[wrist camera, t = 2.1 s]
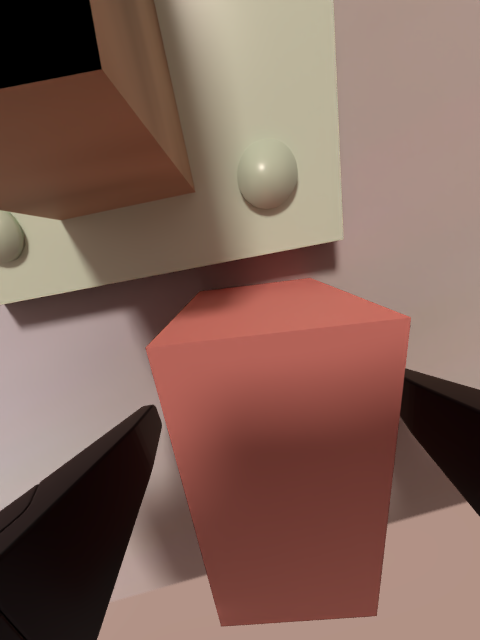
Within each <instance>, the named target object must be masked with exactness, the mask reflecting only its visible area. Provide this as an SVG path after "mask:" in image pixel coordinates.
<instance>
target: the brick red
mask: <svg viewBox="0 0 480 640" xmlns="http://www.w3.org/2000/svg"><path fill="white" fill-rule="evenodd" d="M410 322H411V317H408V316H406V315H403V314H401V313H398V312H395V311H393V310H390V309H388V308H385V307H383V306H380V305H378V304H375V303H373V302H370V301H368V300H365V299H362V298H360V297H357V296H355V295H352V294H350V293H347V292H345V291H342V290H340V289H337V288H334V287H332V286H329V285H327V284H324V283H322V282H319V281H317V280H314V279H312V278H306V279H298V280H290V281H282V282H273V283H265V284H257V285H249V286H240V287H232V288H224V289H215V290H207V291H200V292H199V293H198V294H197V295H196V296H195V297H194V298H193V299H192V300H191V301H190V302H189V303H188V304H187V305H186V306H185V307H184V308H183V309H182V310H181V311H180V313H179V314H178V315H177V316H176V317H175V318H174V319H173V320H172V321H171V322H170V323H169V324H168V325H167V326H166V327H165V328H164V329H163V330H162V331H161V332H160V333H159V334H158V335H157V336H156V337H155V338H154V339H153V340H152V341H151V343H150V344H149V345H148V346H147V347H146V351H147V355H148V359H149V362H150V366H151V370H152V373H153V377H154V381H155V384H156V388H157V392H158V395H159V399H160V403H161V407H162V410H163V414H164V418H165V421H166V425H167V429H168V432H169V436H170V440H171V443H172V447H173V451H174V454H175V458H176V462H177V465H178V469H179V473H180V476H181V480H182V484H183V487H184V491H185V495H186V499H187V502H188V506H189V510H190V513H191V517H192V521H193V524H194V528H195V532H196V535H197V539H198V543H199V546H200V550H201V554H202V557H203V561H204V565H205V568H206V572H207V576H208V579H209V583H210V587H211V590H212V594H213V598H214V602H215V605H216V609H217V613H218V616H219V620H220V623H221V626H236V625H251V624H265V623H280V622H294V621H310V620H324V619H339V618H354V617H369V616H377V609H378V600H379V591H380V583H381V574H382V564H383V557H384V548H385V539H386V530H387V522H388V513H389V505H390V496H391V487H392V478H393V470H394V461H395V452H396V444H397V435H398V426H399V418H400V409H401V400H402V391H403V383H404V374H405V365H406V357H407V348H408V339H409V331H410Z"/></svg>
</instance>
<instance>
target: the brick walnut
mask: <svg viewBox="0 0 480 640" xmlns="http://www.w3.org/2000/svg"><path fill="white" fill-rule="evenodd" d="M90 5H91V11H92V16H93V22H94V28H95V33H96V39H97V45H98V50H99V56H100V62H101V67H102V69H101V70H95V71H90V72H85V73H80V74H75V75H70V76H64V77H59V78H54V79H49V80H44V81H38V82H33V83H28V84H23V85H18V86H13V87H8V84H7V82H6V79H5V77H4V74H3V72H2V69H1V66H0V210H2V211H8V212H14V213H20V214H26V215H32V216H38V217H43V218H49V219H55V220H65V219H70V218H74V217H79V216H84V215H89V214H93V213H98V212H103V211H108V210H112V209H117V208H122V207H127V206H132V205H136V204H141V203H146V202H151V201H155V200H160V199H165V198H170V197H174V196H179V195H184V194H189V193H193V192H195V188H194V183H193V178H192V174H191V169H190V165H189V160H188V155H187V151H186V146H185V142H184V137H183V132H182V128H181V123H180V118H179V114H178V109H177V105H176V100H175V95H174V91H173V86H172V82H171V77H170V72H169V68H168V63H167V58H166V54H165V49H164V45H163V40H162V35H161V31H160V26H159V22H158V17H157V12H156V8H155V3H154V0H90Z"/></svg>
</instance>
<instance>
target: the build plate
mask: <svg viewBox="0 0 480 640" xmlns="http://www.w3.org/2000/svg"><path fill="white" fill-rule="evenodd" d="M154 3H155V8H156V12H157V17H158V22H159V26H160V31H161V35H162V40H163V45H164V49H165V54H166V58H167V63H168V68H169V72H170V77H171V82H172V86H173V91H174V95H175V100H176V105H177V109H178V114H179V118H180V123H181V128H182V132H183V137H184V142H185V146H186V151H187V155H188V160H189V165H190V169H191V174H192V178H193V183H194V188H195V192H193V193H189V194H184V195H179V196H174V197H170V198H165V199H160V200H155V201H151V202H146V203H141V204H136V205H132V206H127V207H122V208H117V209H112V210H108V211H103V212H98V213H93V214H89V215H84V216H79V217H74V218H70V219H65V220H55V219H49V218H43V217H38V216H32V215H26V214H20V213H14V212H8V211H2V210H0V305H3V304H8V303H13V302H18V301H24V300H29V299H34V298H39V297H45V296H50V295H55V294H60V293H66V292H71V291H76V290H81V289H86V288H92V287H97V286H102V285H107V284H113V283H118V282H123V281H128V280H134V279H139V278H144V277H149V276H155V275H160V274H165V273H170V272H176V271H181V270H186V269H191V268H196V267H202V266H207V265H212V264H217V263H223V262H228V261H233V260H238V259H244V258H249V257H254V256H259V255H265V254H270V253H275V252H280V251H285V250H291V249H296V248H301V247H306V246H312V245H317V244H322V243H327V242H333V241H338V240H343V216H342V192H341V169H340V146H339V122H338V99H337V76H336V52H335V29H334V6H333V0H154ZM0 66H1V69H2V72H3V74H4V77H5V79H6V82H7V84H8V87H13V86H18V85H23V84H28V83H33V82H38V81H44V80H49V79H54V78H59V77H64V76H70V75H75V74H80V73H85V72H90V71H95V70H101V69H102V67H101V62H100V56H99V50H98V45H97V39H96V33H95V28H94V22H93V16H92V11H91V5H90V0H0Z"/></svg>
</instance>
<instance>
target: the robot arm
mask: <svg viewBox="0 0 480 640" xmlns="http://www.w3.org/2000/svg"><path fill="white" fill-rule="evenodd" d="M400 417H401V418H402V420H403V421H404V423H405V424H406V426H407V427H408V429H409V430H410V431H411V433H412V434H413V435H414V437H415V438H416V439H417V440H418V442H419V443H420V444H421V445H422V447H423V448H424V449H425V450H426V451H427V453H428V454H429V455H430V456H431V458H432V459H433V460H434V461H435V462H436V464H437V465H438V466H439V467H440V469H441V470H442V471H443V472H444V473H445V475H446V476H447V477H448V478H449V480H450V481H451V482H452V483H453V484H454V486H455V487H456V488H457V489H458V491H459V492H460V493H461V494H462V495H463V497H464V498H465V499H466V500H467V502H468V503H469V504H470V505H471V506H472V508H473V509H474V510H475V511H476V513H477V514H478V515H479V516H480V390H478V389H475V388H471V387H468V386H464V385H461V384H457V383H454V382H451V381H447V380H444V379H440V378H437V377H433V376H430V375H426V374H423V373H420V372H416V371H413V370H409V369H406V368H405V374H404V383H403V391H402V400H401V409H400ZM161 428H162V423H161V420H160V417H159V414H158V411H157V408H156V407H155V405H147V406H143V407H141V408H140V409H139V410H137V411H136V412H135V413H133V414H132V415H130V416H129V417H128V418H126V419H125V420H124V421H122V422H121V423H120V424H118V425H117V426H116V427H114V428H113V429H111V430H110V431H109V432H107V433H106V434H105V435H103V436H102V437H101V438H99V439H98V440H97V441H95V442H94V443H93V444H91V445H90V446H88V447H87V448H86V449H84V450H83V451H82V452H80V453H79V454H78V455H76V456H75V457H74V458H72V459H71V460H69V461H68V462H67V463H65V464H64V465H63V466H61V467H60V468H59V469H57V470H56V471H55V472H53V473H52V474H51V475H49V476H48V477H46V478H45V479H44V480H42V481H41V482H40V483H39V485H38V484H37V485H35V486H34V487H33V488H31V489H30V490H29V491H27V492H26V493H25V494H23V495H22V496H21V497H19V498H18V499H16V500H15V501H14V502H12V503H11V504H10V505H8V506H7V507H5V508H4V509H3V510H1V511H0V640H97V638H98V635H99V632H100V629H101V626H102V623H103V619H104V616H105V613H106V610H107V607H108V604H109V601H110V598H111V595H112V592H113V589H114V586H115V583H116V580H117V577H118V574H119V570H120V567H121V564H122V561H123V558H124V555H125V552H126V549H127V546H128V543H129V540H130V537H131V534H132V531H133V528H134V525H135V521H136V518H137V515H138V512H139V509H140V506H141V503H142V500H143V497H144V494H145V491H146V488H147V485H148V482H149V479H150V475H151V472H152V468H153V464H154V460H155V456H156V451H157V447H158V442H159V438H160V433H161Z"/></svg>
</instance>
